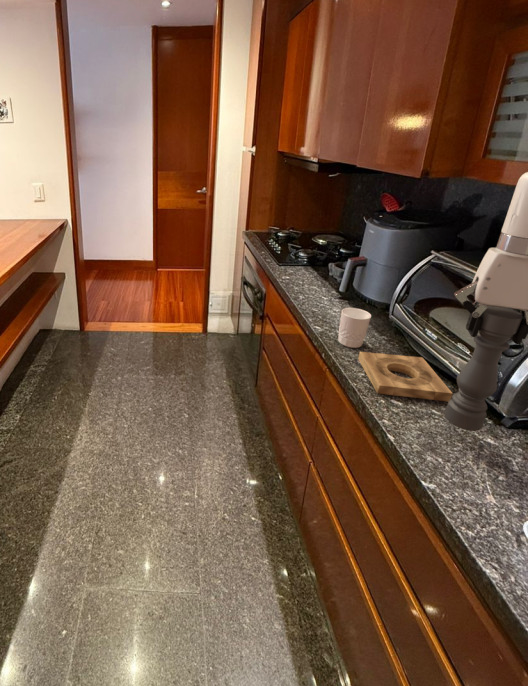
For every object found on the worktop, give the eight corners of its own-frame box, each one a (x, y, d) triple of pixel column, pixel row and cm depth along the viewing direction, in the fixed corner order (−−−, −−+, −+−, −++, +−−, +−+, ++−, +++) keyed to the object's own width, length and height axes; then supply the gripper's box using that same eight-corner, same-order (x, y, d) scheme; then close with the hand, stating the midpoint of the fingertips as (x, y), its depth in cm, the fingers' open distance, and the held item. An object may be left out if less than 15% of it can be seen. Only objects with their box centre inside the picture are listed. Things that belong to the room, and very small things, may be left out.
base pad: (420, 365, 108) (422, 357, 107) (449, 401, 93) (452, 393, 92) (358, 358, 111) (359, 351, 110) (377, 393, 96) (379, 385, 95)
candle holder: (447, 406, 85) (482, 302, 75) (483, 420, 81) (525, 312, 71) (441, 420, 81) (478, 312, 71) (479, 435, 77) (523, 323, 67)
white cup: (340, 347, 116) (346, 318, 112) (332, 335, 123) (338, 306, 120) (368, 350, 115) (375, 320, 111) (359, 337, 122) (365, 308, 118)
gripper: (583, 245, 66) (544, 338, 73) (459, 235, 73) (434, 320, 80) (607, 257, 60) (562, 357, 67) (469, 245, 67) (441, 336, 74)
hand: (493, 336), depth 73 cm, fingers closed on candle holder, 5 cm apart
